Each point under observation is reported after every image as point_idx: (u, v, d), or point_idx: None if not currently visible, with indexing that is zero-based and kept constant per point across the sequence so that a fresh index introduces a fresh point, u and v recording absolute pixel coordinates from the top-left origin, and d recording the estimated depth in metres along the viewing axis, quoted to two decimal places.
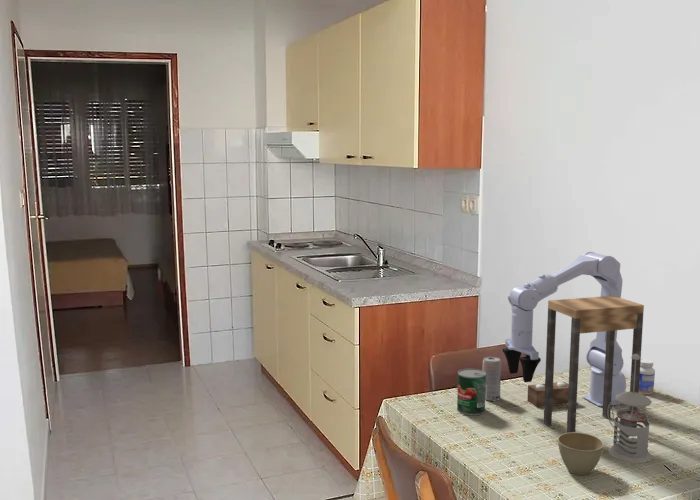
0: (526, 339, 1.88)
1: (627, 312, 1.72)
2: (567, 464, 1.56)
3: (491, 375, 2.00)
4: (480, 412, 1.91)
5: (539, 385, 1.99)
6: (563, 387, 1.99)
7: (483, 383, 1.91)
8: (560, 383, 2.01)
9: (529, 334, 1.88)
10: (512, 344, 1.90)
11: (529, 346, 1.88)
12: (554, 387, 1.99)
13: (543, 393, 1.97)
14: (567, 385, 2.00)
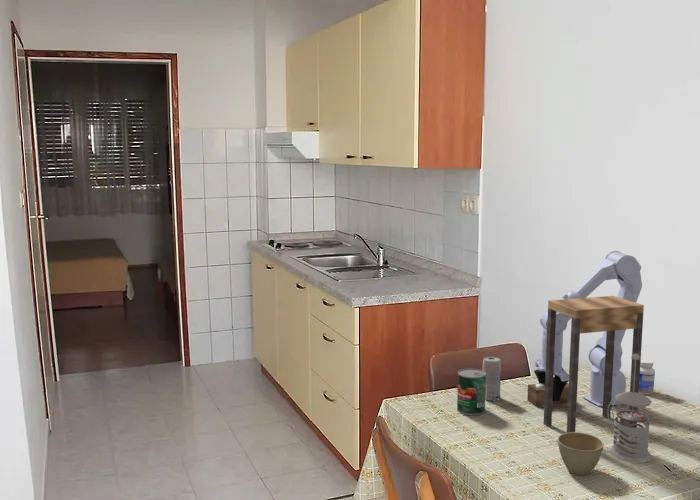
0: (556, 361, 1.96)
1: (627, 312, 1.72)
2: (567, 464, 1.56)
3: (491, 375, 2.00)
4: (480, 412, 1.91)
5: (539, 384, 1.99)
6: None
7: (483, 383, 1.91)
8: None
9: (559, 356, 1.96)
10: (543, 365, 1.98)
11: (559, 368, 1.97)
12: None
13: (543, 392, 1.97)
14: (567, 385, 2.00)
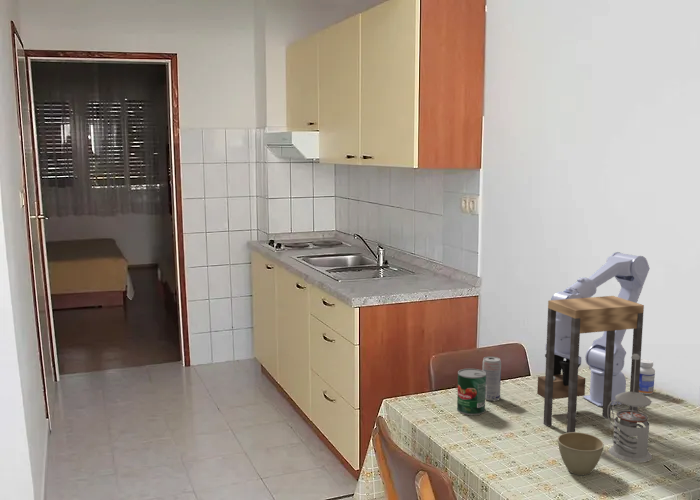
0: (568, 344, 1.88)
1: (627, 312, 1.72)
2: (567, 464, 1.56)
3: (491, 375, 2.00)
4: (480, 412, 1.91)
5: None
6: None
7: (483, 383, 1.91)
8: None
9: None
10: None
11: None
12: None
13: (554, 385, 1.89)
14: (578, 376, 1.93)
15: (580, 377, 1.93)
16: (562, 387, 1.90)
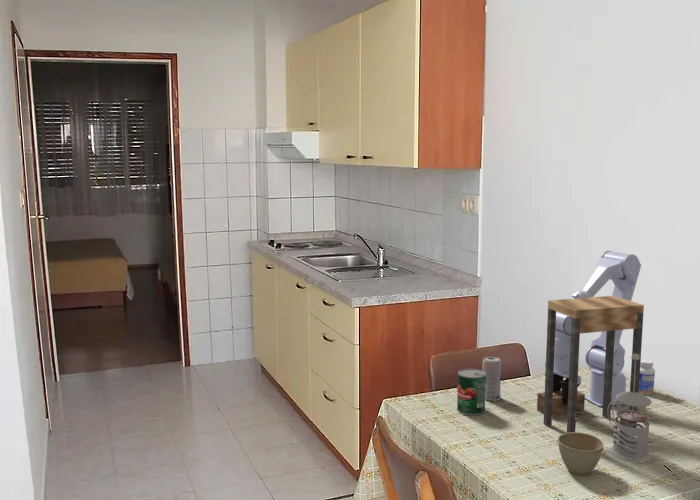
0: (568, 364, 1.89)
1: (627, 312, 1.72)
2: (567, 464, 1.56)
3: (491, 375, 2.00)
4: (480, 412, 1.91)
5: None
6: None
7: (483, 383, 1.91)
8: None
9: None
10: None
11: None
12: None
13: (554, 401, 1.89)
14: (578, 393, 1.94)
15: (579, 393, 1.93)
16: (561, 404, 1.90)
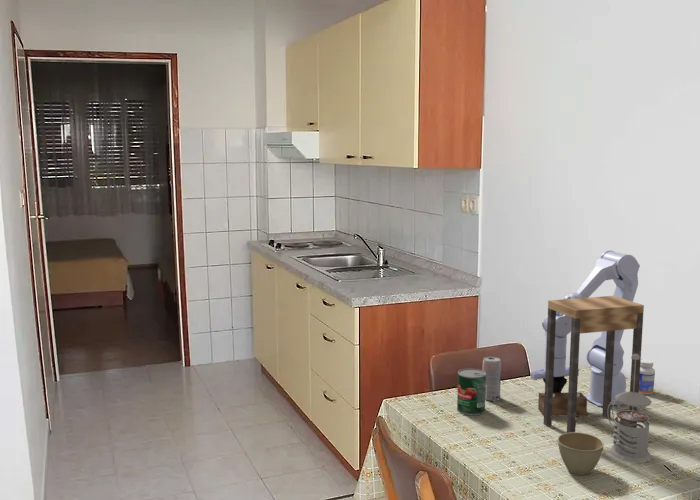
0: None
1: (627, 312, 1.72)
2: (567, 464, 1.56)
3: (491, 375, 2.00)
4: (480, 412, 1.91)
5: None
6: None
7: (483, 383, 1.91)
8: None
9: None
10: None
11: None
12: (566, 397, 1.90)
13: None
14: (581, 396, 1.91)
15: (582, 397, 1.91)
16: (560, 405, 1.90)
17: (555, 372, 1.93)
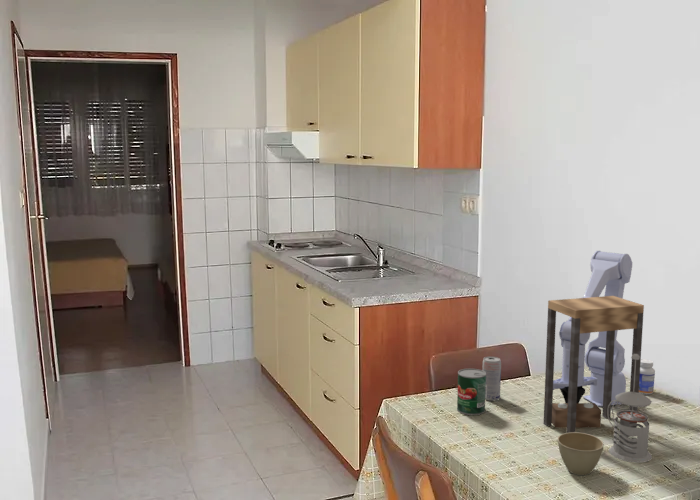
0: (563, 372, 1.87)
1: (627, 312, 1.72)
2: (567, 464, 1.56)
3: (491, 375, 2.00)
4: (480, 412, 1.91)
5: (562, 404, 1.84)
6: (589, 409, 1.82)
7: (483, 383, 1.91)
8: (587, 404, 1.84)
9: (566, 368, 1.85)
10: None
11: (566, 380, 1.86)
12: (579, 408, 1.82)
13: (564, 413, 1.81)
14: (595, 407, 1.83)
15: (596, 408, 1.82)
16: None
17: None
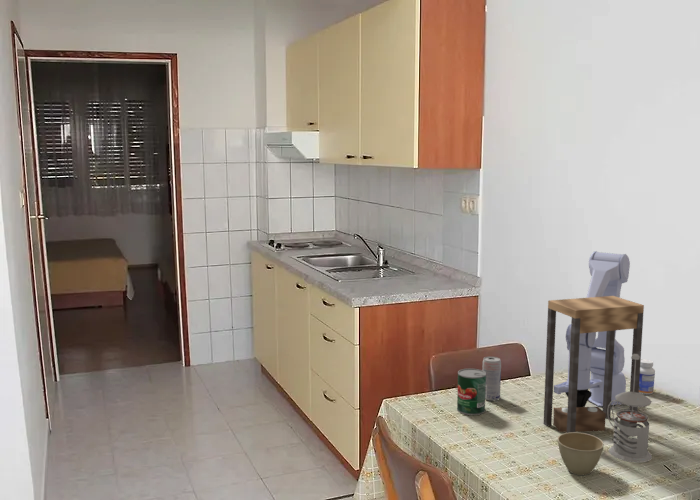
0: None
1: (627, 312, 1.72)
2: (567, 464, 1.56)
3: (491, 375, 2.00)
4: (480, 412, 1.91)
5: (565, 408, 1.81)
6: (593, 413, 1.79)
7: (483, 383, 1.91)
8: (591, 408, 1.81)
9: None
10: None
11: None
12: (583, 412, 1.80)
13: None
14: (599, 411, 1.81)
15: (600, 412, 1.80)
16: (577, 421, 1.79)
17: (580, 385, 1.82)
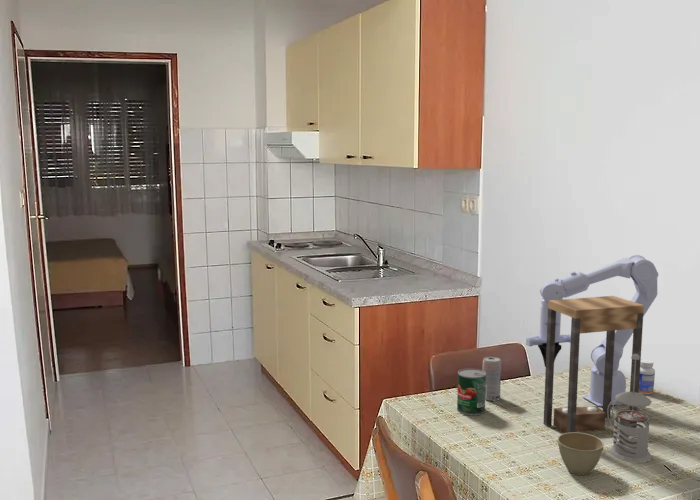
0: (541, 329, 2.00)
1: (627, 312, 1.72)
2: (567, 464, 1.56)
3: (491, 375, 2.00)
4: (480, 412, 1.91)
5: (566, 409, 1.81)
6: (593, 412, 1.80)
7: (483, 383, 1.91)
8: (591, 408, 1.81)
9: (543, 325, 1.99)
10: None
11: (543, 337, 1.99)
12: (583, 412, 1.80)
13: None
14: (599, 410, 1.81)
15: (600, 411, 1.80)
16: (578, 421, 1.79)
17: None
